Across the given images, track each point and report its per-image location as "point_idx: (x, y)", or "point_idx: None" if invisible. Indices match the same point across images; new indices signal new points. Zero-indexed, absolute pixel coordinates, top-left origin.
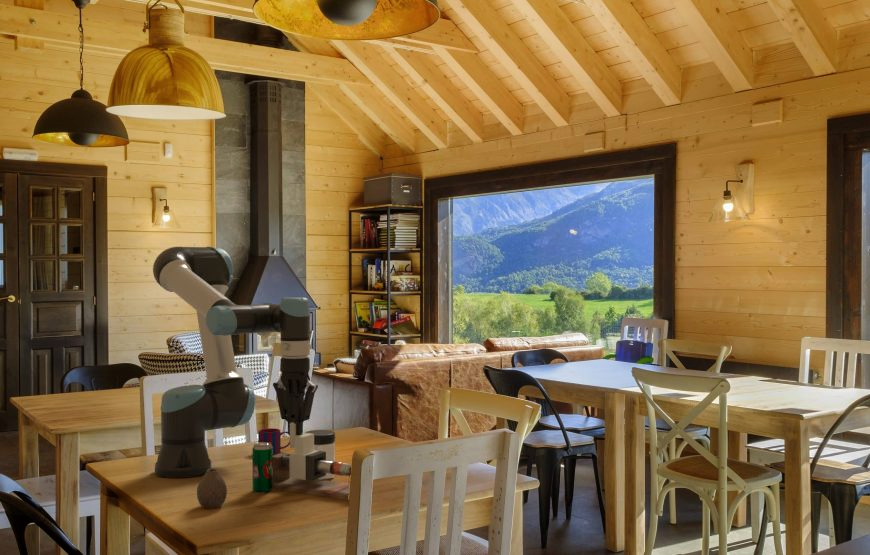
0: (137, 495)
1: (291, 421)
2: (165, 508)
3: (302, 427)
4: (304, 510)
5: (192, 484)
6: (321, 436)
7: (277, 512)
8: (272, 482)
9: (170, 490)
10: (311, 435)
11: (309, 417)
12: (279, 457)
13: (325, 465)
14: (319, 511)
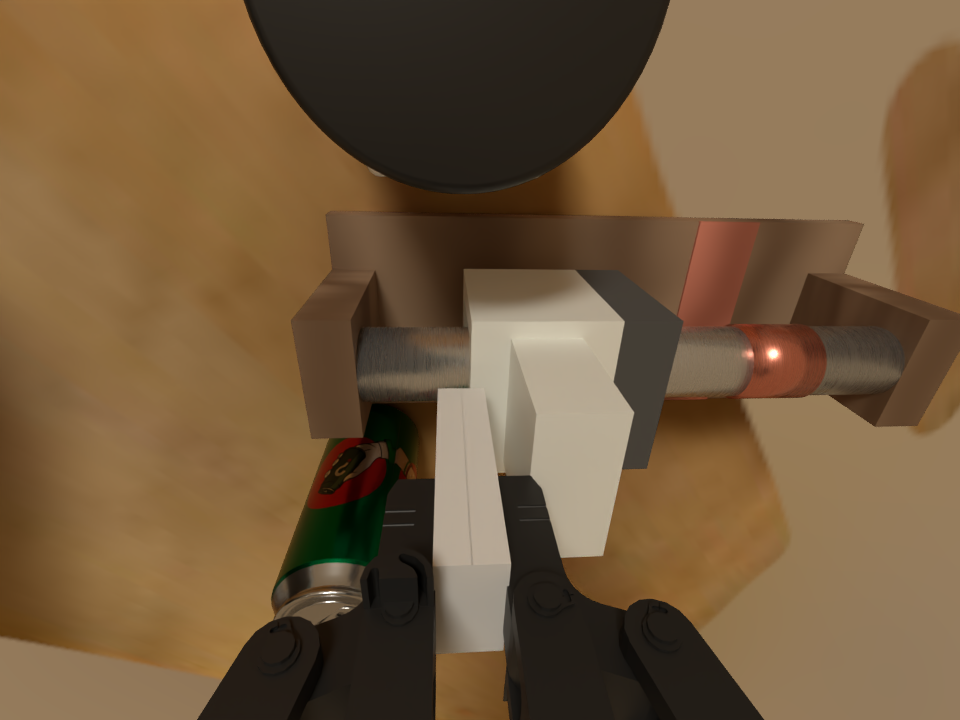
0: (51, 638)
1: (435, 648)
2: None
3: (553, 538)
4: (660, 531)
5: (36, 486)
6: (579, 149)
7: (590, 573)
8: (412, 440)
9: (68, 568)
10: (622, 444)
11: (696, 637)
12: (362, 423)
13: (697, 396)
14: (710, 520)
